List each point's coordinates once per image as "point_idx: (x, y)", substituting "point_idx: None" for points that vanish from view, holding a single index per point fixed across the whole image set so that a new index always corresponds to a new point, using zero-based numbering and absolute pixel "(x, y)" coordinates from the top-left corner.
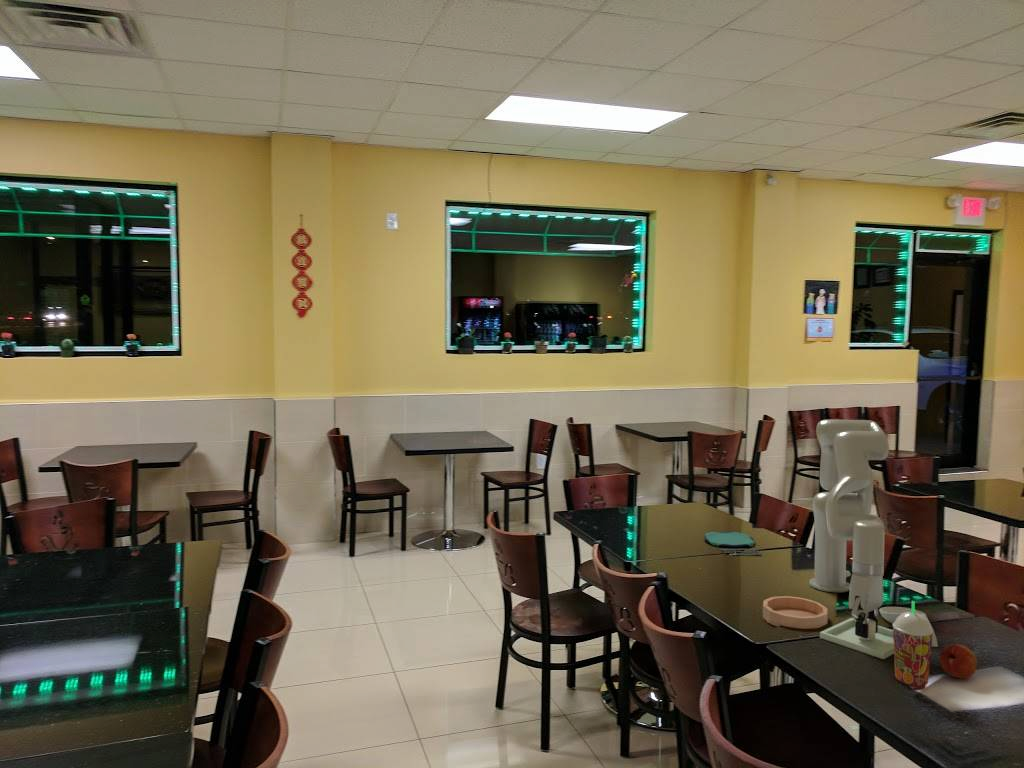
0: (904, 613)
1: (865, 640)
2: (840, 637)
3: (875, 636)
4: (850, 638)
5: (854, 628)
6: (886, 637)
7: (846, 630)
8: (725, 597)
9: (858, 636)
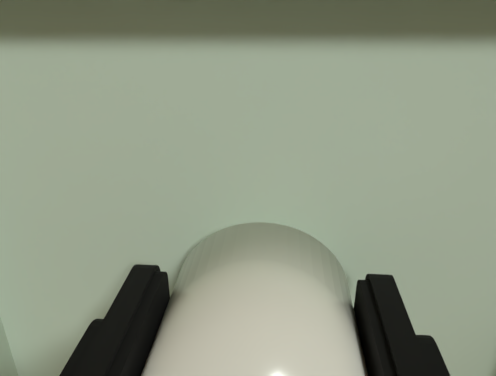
0: None
1: None
2: (78, 102)
3: (405, 305)
4: (150, 183)
5: (493, 69)
6: (450, 369)
7: (347, 34)
8: None
9: (185, 261)
